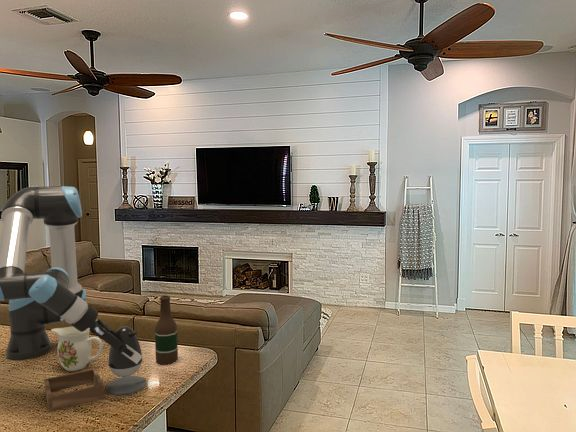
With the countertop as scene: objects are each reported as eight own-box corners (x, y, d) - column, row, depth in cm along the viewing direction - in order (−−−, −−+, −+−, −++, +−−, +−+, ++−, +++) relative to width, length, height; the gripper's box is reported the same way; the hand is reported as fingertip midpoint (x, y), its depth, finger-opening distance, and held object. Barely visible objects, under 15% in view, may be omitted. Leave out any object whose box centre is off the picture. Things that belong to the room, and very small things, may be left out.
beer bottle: (182, 359, 168) (180, 294, 166) (168, 366, 160) (166, 300, 159) (165, 355, 171) (163, 292, 169) (151, 363, 164) (149, 297, 162)
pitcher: (96, 374, 155) (94, 334, 154) (44, 373, 156) (42, 334, 155) (110, 361, 166) (108, 324, 165) (61, 361, 167) (59, 324, 166)
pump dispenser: (123, 383, 138) (121, 334, 137) (101, 375, 143) (99, 328, 142) (150, 371, 146) (148, 324, 145) (128, 364, 152) (127, 320, 151)
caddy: (44, 391, 143) (44, 379, 142) (96, 379, 151) (95, 368, 150) (48, 411, 130) (48, 398, 130) (104, 397, 138) (104, 385, 138)
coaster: (103, 383, 148) (103, 381, 148) (141, 375, 154) (141, 372, 154) (110, 398, 137) (110, 396, 137) (150, 388, 144) (150, 386, 144)
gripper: (65, 315, 145) (119, 353, 154) (75, 335, 126) (135, 377, 135) (83, 296, 147) (135, 335, 157) (95, 313, 128) (153, 355, 138)
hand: (135, 354), depth 146 cm, fingers closed on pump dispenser, 10 cm apart
